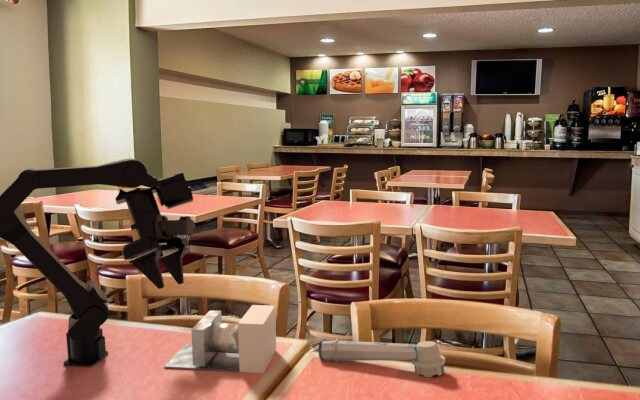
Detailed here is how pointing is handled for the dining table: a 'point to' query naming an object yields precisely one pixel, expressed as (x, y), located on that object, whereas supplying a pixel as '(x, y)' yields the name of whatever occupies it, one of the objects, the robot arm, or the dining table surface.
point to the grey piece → (213, 338)
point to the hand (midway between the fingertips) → (171, 285)
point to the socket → (257, 338)
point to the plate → (216, 363)
